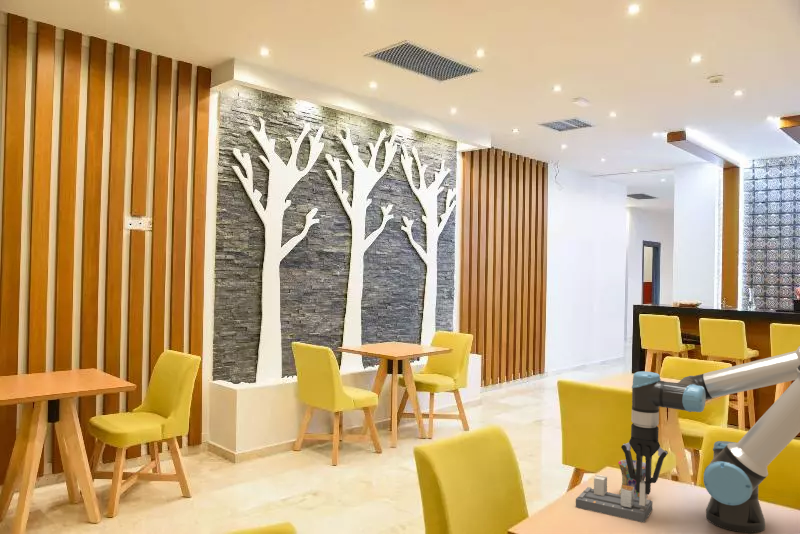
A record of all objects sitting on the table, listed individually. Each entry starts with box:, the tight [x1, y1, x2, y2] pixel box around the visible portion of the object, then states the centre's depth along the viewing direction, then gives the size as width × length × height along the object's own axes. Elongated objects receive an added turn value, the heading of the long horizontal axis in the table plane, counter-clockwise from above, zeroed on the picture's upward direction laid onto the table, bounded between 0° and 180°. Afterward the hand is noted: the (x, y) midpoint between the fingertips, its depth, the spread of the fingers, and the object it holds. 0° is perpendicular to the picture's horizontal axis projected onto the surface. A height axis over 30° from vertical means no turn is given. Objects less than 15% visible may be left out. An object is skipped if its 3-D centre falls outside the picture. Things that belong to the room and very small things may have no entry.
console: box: [575, 474, 653, 523], centre depth 188 cm, size 20×12×8 cm, turn 57°
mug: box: [618, 459, 646, 498], centre depth 200 cm, size 12×9×11 cm
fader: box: [620, 484, 634, 508], centre depth 184 cm, size 3×4×6 cm
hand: (642, 503), depth 181 cm, fingers closed
